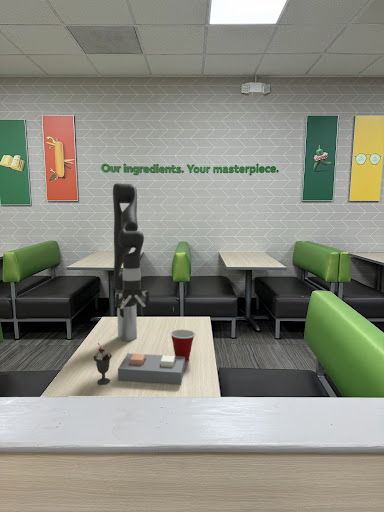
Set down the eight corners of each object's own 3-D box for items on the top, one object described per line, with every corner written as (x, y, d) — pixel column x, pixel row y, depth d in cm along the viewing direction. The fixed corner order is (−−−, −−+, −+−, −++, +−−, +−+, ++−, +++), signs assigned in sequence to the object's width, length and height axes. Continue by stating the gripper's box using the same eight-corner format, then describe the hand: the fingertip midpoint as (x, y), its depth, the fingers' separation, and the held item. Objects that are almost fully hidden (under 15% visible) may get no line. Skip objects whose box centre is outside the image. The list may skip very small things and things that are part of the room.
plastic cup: (198, 355, 150) (198, 329, 148) (190, 366, 139) (190, 339, 137) (175, 351, 153) (175, 326, 151) (166, 362, 143) (166, 335, 141)
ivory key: (163, 364, 134) (163, 355, 134) (174, 365, 134) (174, 356, 133) (160, 370, 130) (160, 361, 129) (173, 371, 129) (173, 361, 129)
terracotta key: (133, 363, 136) (133, 353, 135) (145, 363, 135) (145, 354, 134) (130, 368, 131) (130, 359, 130) (142, 369, 130) (142, 360, 130)
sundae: (96, 377, 130) (94, 340, 128) (113, 376, 131) (112, 340, 128) (92, 386, 124) (91, 348, 121) (111, 386, 124) (110, 348, 122)
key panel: (127, 364, 140) (127, 353, 140) (185, 367, 138) (185, 356, 137) (118, 381, 128) (117, 368, 127) (180, 385, 125) (181, 372, 125)
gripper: (146, 276, 148) (146, 312, 149) (113, 278, 143) (114, 315, 144) (150, 278, 141) (151, 316, 142) (115, 281, 136) (116, 320, 137)
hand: (132, 316), depth 143 cm, fingers open, 8 cm apart
